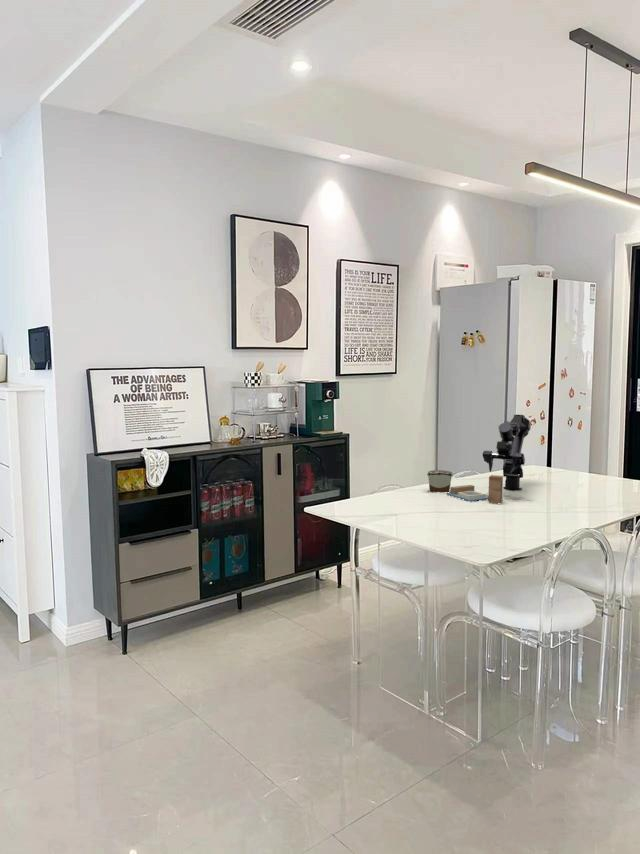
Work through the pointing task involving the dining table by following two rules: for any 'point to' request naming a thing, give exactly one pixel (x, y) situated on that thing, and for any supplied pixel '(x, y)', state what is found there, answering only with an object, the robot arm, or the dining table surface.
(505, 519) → the dining table surface
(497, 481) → the pillar
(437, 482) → the food container
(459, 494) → the blueprint board
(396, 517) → the dining table surface
